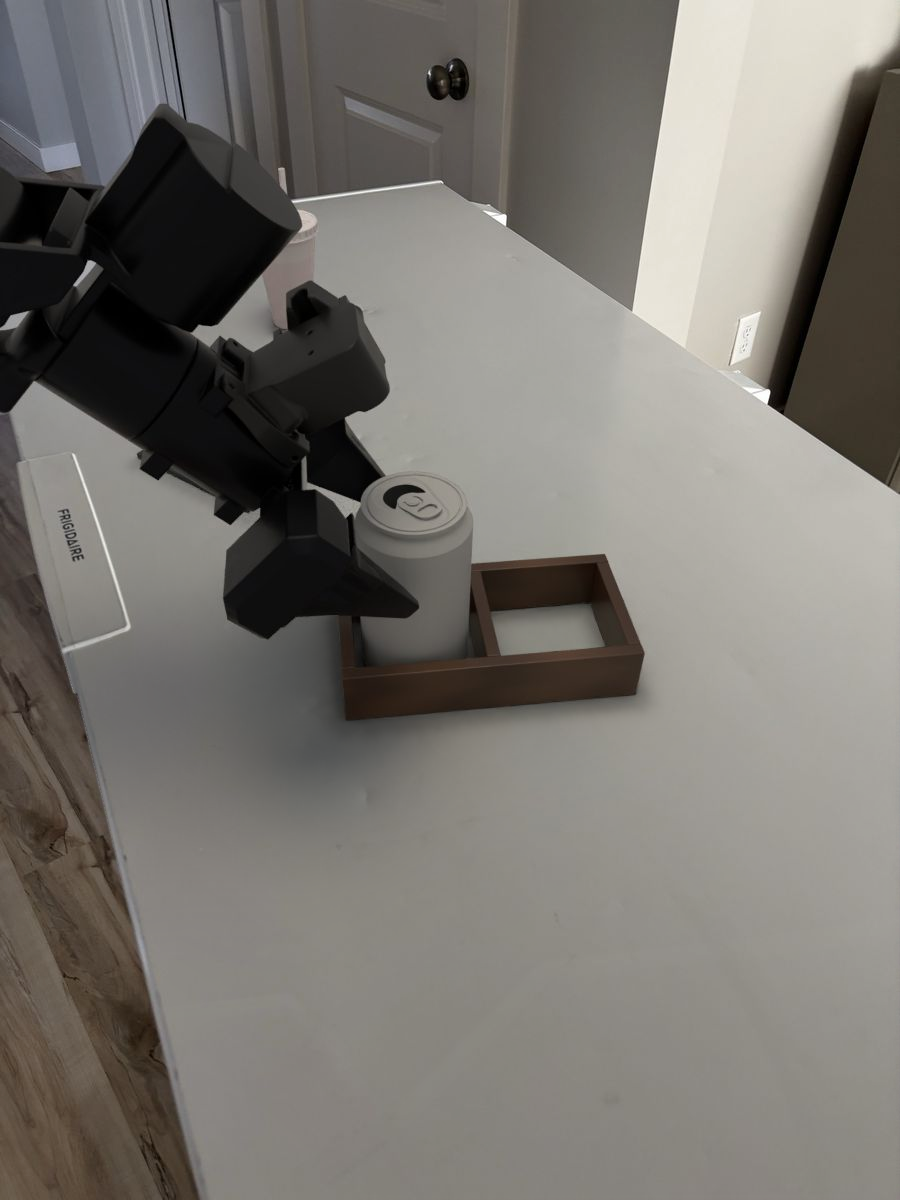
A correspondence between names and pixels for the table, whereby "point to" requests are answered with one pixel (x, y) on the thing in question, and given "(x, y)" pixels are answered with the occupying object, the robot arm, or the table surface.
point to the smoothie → (291, 264)
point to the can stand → (507, 675)
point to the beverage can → (418, 566)
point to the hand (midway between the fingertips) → (405, 554)
